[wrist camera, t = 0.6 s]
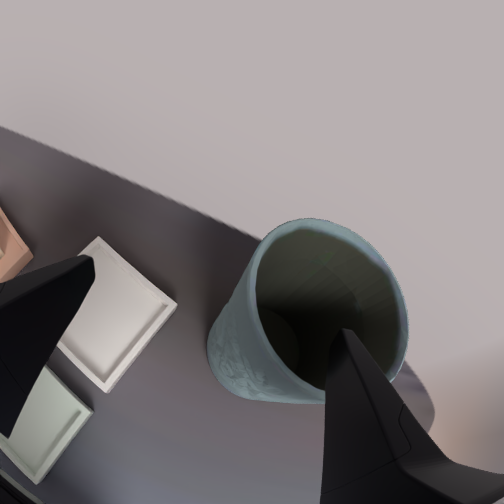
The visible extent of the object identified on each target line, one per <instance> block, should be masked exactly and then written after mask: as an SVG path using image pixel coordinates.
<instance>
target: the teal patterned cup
mask: <svg viewBox="0 0 504 504" xmlns="http://www.w3.org/2000/svg"><path fill="white" fill-rule="evenodd" d="M342 328H344V329H349V330H352V331H353V332H354V333H355V335H356V336H357V337H358V339H359V340H360V341H361V343H362V344H363V345H364V347H365V348H366V350H367V351H368V352H369V354H370V355H371V356H372V358H373V359H374V361H375V362H376V363H377V365H378V366H379V367H380V369H381V370H382V372H383V373H384V374H385V376H386V377H387V379H388V380H389V381H390V383H391V382H392V381H393V380H394V378H395V377H396V375H397V373H398V372H399V370H400V368H401V366H402V364H403V361H404V359H405V355H406V351H407V346H408V339H409V321H408V312H407V308H406V303H405V299H404V296H403V293H402V291H401V288H400V286H399V284H398V281H397V280H396V277H395V276H394V274H393V272H392V270H391V268H390V267H389V266H388V264H387V263H386V261H385V260H384V258H383V257H382V256H381V255H380V254H379V253H378V252H377V251H376V249H375V248H374V247H373V246H372V245H371V244H370V243H368V242H367V241H366V240H365V239H363V238H362V237H361V236H359V235H358V234H356V233H355V232H353V231H351V230H350V229H348V228H346V227H343V226H340V225H338V224H335V223H333V222H330V221H327V220H321V219H313V218H304V219H297V220H293V221H289V222H286V223H284V224H282V225H279V226H278V227H277V228H275V229H274V230H272V231H271V232H270V233H268V235H267V236H266V237H265V238H264V239H263V240H262V241H261V243H260V244H259V246H258V247H257V249H256V251H255V252H254V254H253V256H252V258H251V260H250V262H249V264H248V265H247V267H246V269H245V271H244V273H243V275H242V277H241V279H240V281H239V282H238V284H237V286H236V287H235V289H234V291H233V295H232V297H231V298H230V300H229V302H228V303H227V304H226V305H225V306H224V308H223V309H222V311H221V313H220V315H219V316H218V317H217V319H216V320H215V322H214V324H213V326H212V328H211V330H210V332H209V336H208V341H207V356H208V361H209V364H210V367H211V369H212V372H213V373H214V375H215V376H216V378H217V380H218V381H219V382H220V383H221V384H222V385H223V386H224V387H225V388H226V389H228V390H229V391H230V392H232V393H233V394H235V395H237V396H240V397H243V398H246V399H252V400H262V401H270V402H281V403H283V402H285V403H316V404H325V386H326V376H327V367H328V357H329V348H330V345H331V343H332V341H333V340H334V338H335V336H336V335H337V333H338V331H339V330H340V329H342Z"/></svg>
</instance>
